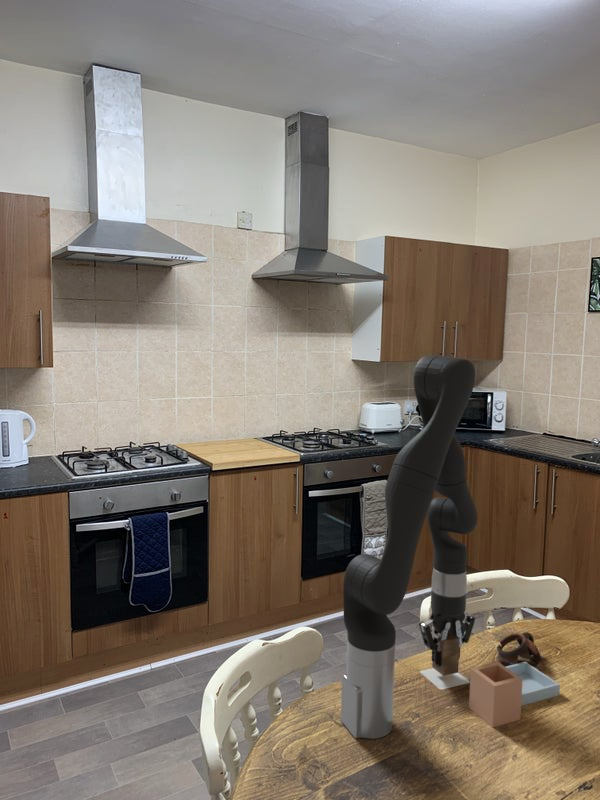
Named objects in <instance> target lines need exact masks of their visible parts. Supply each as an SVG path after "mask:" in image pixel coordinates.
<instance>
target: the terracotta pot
mask: <svg viewBox="0 0 600 800" xmlns="http://www.w3.org/2000/svg"><path fill="white" fill-rule="evenodd" d="M469 676H470V677H469V679H470V680H469V681H470V683H469V699H468V708H469V710H471V711H472V712H473V713H475V714H476V715H477V717H479V718H480V719H481V720H483V721H484V722H485V723H486V724H487V725H489V726H490V728H496V727H499V726H503V725H506V724H510V723H513V722H517V721H520V720H521V715H522V714H521V713H522V706H521V699H522V681H523V679H522V678H520V677H519V676H518V675H516V674H515V673H513V672H512V671H510V670H509V669H508V668H506V666H505V665H503V664H502V663H500V661H497V662H492V663H488V664H484V665H480V666H475V667H471V668H470V675H469Z"/></svg>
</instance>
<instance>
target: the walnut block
mask: <svg viewBox="0 0 600 800" xmlns="http://www.w3.org/2000/svg"><path fill="white" fill-rule="evenodd" d="M439 634H440V633H439ZM440 635H441V634H440ZM437 642H438V639H437ZM459 643H460V638H459V637H458V638H457V637H456V636H455V635H453V634H448V635H447V637H446V640H444V641H443V642H442V650H441V651H442V659H441V666H440V667H437V666H436V665H435V664H434V663H433V662H432V665H431V668H434V669H435V670H437V671H438V672H439V673H440V674H441V675H443V676H446V675H450V674H454V673H459V667H460V666H459V663H460V658H459Z"/></svg>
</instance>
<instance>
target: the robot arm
mask: <svg viewBox="0 0 600 800" xmlns="http://www.w3.org/2000/svg"><path fill="white" fill-rule="evenodd" d="M412 376H413V389H414V394H415V397H416V402H417V406H418V409H419V412H420V413H419V415H420V417H421V421H422V425H423V429H421V430H420V431H419V432H418V433H417V434H416V435H415V436H414V437H412V439H410V440H409V442H407V443H406V444H405V445H404V446H403V447H402V448H401V450H399V452H398V453H397V455H396V456H395V458H394V461H393V463H392V466H391V469H390V472H389V475H388V477H387V480H386V484H385V488H384V499H385V510H386V518H387V519H386V520H387V538H386V543H385V546H384V549H383V554H382V555H381V558H379V557H377V556H374V555H372V554H368V553H362V554H359V555H356V556H355V557H354V558H352V560H351V561H350V562H349V563H348V565H347V567H346V569H345V573H344V577H343V583H342V585H343V586H342V589H343V590H342V596H343V597H342V599H343V601H342V603H343V606H342V607H343V622H344V627H345V629H346V631H347V639H346V642H347V644H346V645H347V646H346V670H345V671H346V673H344V674H342V676H341V697H340V699H341V703H340V704H341V705H340V706H341V708H340V722H342V724H343V725H344V726H345V728H346V729H347V730H348V731H349V733H350V734H351V735H352V736H353V738H354V739H359V738H364V739H371V740H372V739H373V740H375V739H379V738H384V737H385V736H387V735H389V733H391V731H392V729H393V717H394V714H393V713H394V689H395V687H394V686H395V665H396V664H395V661H396V660H395V659H396V637H397V636H396V634H397V633H396V627H395V626H394V624H393V623H392V621H391V620H390V618H389V615H390V614H392V613H394V612H395V611H396V610H398V608H399V607H400V606H401V604H402V602H403V600H404V598H405V595H406V593H407V590H408V586H409V583H410V578H411V574H412V571H413V570H412V569H413V565H414V560H415V557H416V552H417V547H418V544H419V541H420V537H421V534H422V530H423V527H424V525H425V520H426V519H427V523H428V524H427V525H428V527H429V532H430V536H431V540H432V546H433V567H432V568H433V569H432V573H431V585H430V586H431V589H430V608H431V615H430V617H429V620H427V621H425V622H424V621H420V622H419V623H418V626H419V630H420V634H421V637H422V641H423V645H425V647H427V648H428V649H429V650H431V662H432V664H433V663H434V664H435V665H436V666H437V667H440V666H441V659H442V651H441V650H442V642H443V641H444V640H446V637H447V635H448V634H453V635H455V636H456V637H457V638H458V637H459V638H460V643H459V659H460V658H461V647H462V646H463V644H464V643H465V644H467V643H469V641H470V637H471V635H472V630H473V629H474V626H475V623H476V622H475V621H476V618H475V616H473V615H471V614H470V613H468V612H466V610H467V587H468V586H467V585H468V578H467V577H468V576H467V561H468V559H467V558H468V550H467V546H466V545H465V544H464V543H463V542H462V541H458V540H456V539H454V538H453V537H452V536H451V535H450V534H449V533H454V534H458V535H459V534H460V535H469V534H471V533H473V532H474V530H475V529H476V527H477V525H478V510H477V507H476V504H475V501H474V499H473V497H472V493H471V491H470V488H469V486H468V482H467V470H466V469H467V468H466V458H465V454H464V450H463V448H462V446H461V443H460V441H459V440H458V438H457V436H456V434H455V433H456V430H457V428H458V426H459V424H460V422H461V419H462V417H463V416H464V413H465V410H466V408H467V406H468V403H469V401H470V399H471V396H472V393H473V390H474V387H475V382H476V368H475V367H474V364H473V363H472V362H471V361H470V360H469V359H466V358H461V357H454V356H453V357H452V356H443V355H435V354H432V355H431V354H430V355H429V354H428V355H425V356H422V357H421V358H420V359H419V360H418V361H417V363H416V365H415V367H414V372H413V375H412ZM435 493H437V494H439V495H440V496H441V497H439V496H437V497H435V498H434V495H435ZM442 496H443V497H442ZM439 633H440V634H441V635H440V634H439ZM437 639H438V642H437Z"/></svg>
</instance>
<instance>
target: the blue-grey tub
mask: <svg viewBox="0 0 600 800" xmlns="http://www.w3.org/2000/svg"><path fill="white" fill-rule="evenodd" d="M505 667H506V668H508V669H509V670H510V671H512V672H513V673H515V674H516V675H518V676H519V677H520V678H522V679H523V681H522V699H521V707H523V706H526V705H529V704H530V705H531V704H534V703H537V702H541V701H544V700H547V699H552V698H554V697H558V696H560V691H561V688H560V687H561V684H560V683H558V682H557V681H556V680H554V679H552V678H551V677H549V676H548V675H546V674H545V673H543V672H542V671H541V672H540V671H539V669H538V668H537V667H534V666H532V665H531V664H529V662H527V661H522V662H518V664H515V663H513V664H511V665H510V664H509V665H507V666H505Z"/></svg>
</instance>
